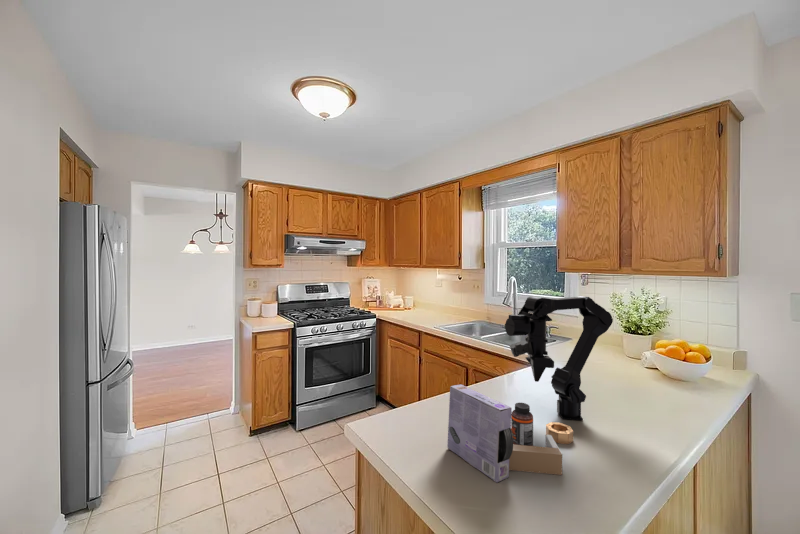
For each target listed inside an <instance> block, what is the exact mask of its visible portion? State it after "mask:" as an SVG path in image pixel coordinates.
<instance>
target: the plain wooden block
mask: <svg viewBox="0 0 800 534" xmlns="http://www.w3.org/2000/svg"><path fill="white" fill-rule="evenodd" d="M544 436H545V439H544V440H545V446H536V445H535V446H534V445H532V446H526V445H514V444H513V451H512V454H511V457H510V458H509V471H517V472H525V473H526V472H529V473H537V474H538V473H539V474H545V475H546V474H548V475H549V474H550V475H560V476H561V475H563V453H562V451H561V450H560V448H559V446H558V443H556V442H555V441H554V439H553V437H552V436H551V435H546V434H545V435H544Z"/></svg>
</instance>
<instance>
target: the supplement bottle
mask: <svg viewBox="0 0 800 534" xmlns="http://www.w3.org/2000/svg"><path fill="white" fill-rule="evenodd" d="M530 408H531V407H530V404H528V403H525V402H516V403H515V404H514V409H513V410H512V413H511V430H512V435H513V445H526V446H534V415H533V414H532V412H530V411H531V409H530Z"/></svg>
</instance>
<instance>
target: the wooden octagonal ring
mask: <svg viewBox="0 0 800 534" xmlns="http://www.w3.org/2000/svg"><path fill="white" fill-rule="evenodd" d="M546 435H551V436H552V437H553V439H554V441H555V443H556V444H561V445H562V444H563V445H569V444H571V443H573V442H574V429H572V427H571V426H570V425H567V424H565V423H562V422H556V421H555V422H554V421H552V422H548V423H547V424H545V436H546Z"/></svg>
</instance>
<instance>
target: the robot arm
mask: <svg viewBox="0 0 800 534" xmlns="http://www.w3.org/2000/svg"><path fill="white" fill-rule="evenodd" d="M576 309H578V311H579V314H580V315H581V316H582V317H583V319H582V322H581V323H582V329H583V330H582V332H581V333H580V336H579V338H578V340H577V342H576V343H575V346H574V348H573V350H572V352H571V354H570V356H569V358H568V360H567V362H566V364H565V365H564V366H563V367H562V368H560V367H556V368H555V361H554V360H553V359H552V358H551V356H549V355H548V351H547V343H548V342H549V341H548V338H547V322H551V321H553V319H552V318H551V317H550V316H549V314H552V313H554V312H556V311H563V310H576ZM613 321H614V319H613V317H612V314H611V313H610V312H609V311H608V310H606V309H605V308H604V307H602V306H601V305H600V304H599V303H597V302H595V301H594V299H593V298H591V297H589V296H582V295H578V296H572V297H571V296H570V297H559V298H558V297H554V298H549V297H548V298H547V297H542V296H541V297H540V296H533V295H532V296H528V297H527V298H526V299H525V302H524V304H523V306H522V307H521V309H520V310H519V312H518V313H517V314H508V318H507V319H506V321H505V323H504V330H505V333H506V335H507V336H509V337H513V336H514V337H516V336H517V337H518V336H525V337H524V338H525V339H524V340H521V341H517V342H514V343H511V344H509V349H510V351H511V354H512V356H513V357H514V358H517V357H519V356H521V355H525V354H527V356H526V357H524V358H525V359H526V361H527V362H528V363H529V364H530V368H531V372H532V375H533V381H534V382H535V383H537V382H539V381H540V379H541V377H542V375H543V373H544V372H545V371H546V369H547V368H549V369H554V368H555V370H554V373H553V374H552V375H551V378H552V379H551V380H550V382H551V383H550V384H551V387H552V389H553V390H554V393H555V395H557V396H558V399H557V400H556V412H557V413H558V415H559V416H560V417H561V419H562V420H575V421H583V419H584V418H583V417H582V403H584V402H585V401H586V399H587V395H586V394H585V393H584V391H582V389H580V388H581V384H582V380H581V379H582V378H581V373H582V371H583V368H584V366H585V365H586V363H587V361H588V359H589V356H590V355H591V352H592V351H593V348H594V346H595V344H596V343H597V340H598V339H599V337H600V336H602V335H603V334H605V333H607V331H608V330H609V328H610V327H611V326H612V324H613Z"/></svg>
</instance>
